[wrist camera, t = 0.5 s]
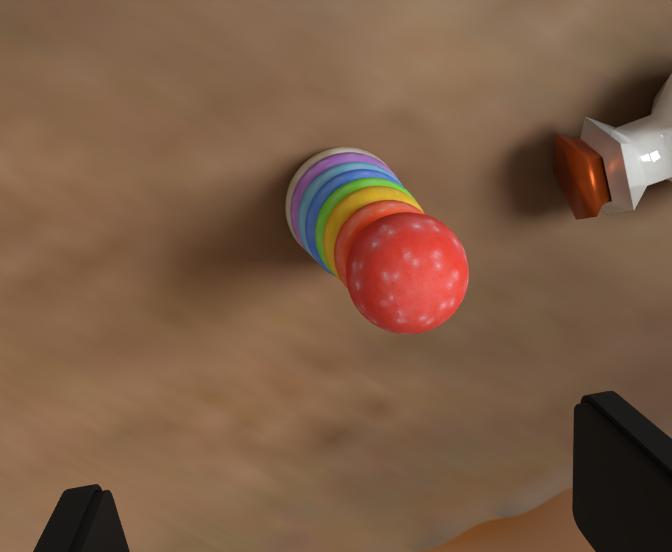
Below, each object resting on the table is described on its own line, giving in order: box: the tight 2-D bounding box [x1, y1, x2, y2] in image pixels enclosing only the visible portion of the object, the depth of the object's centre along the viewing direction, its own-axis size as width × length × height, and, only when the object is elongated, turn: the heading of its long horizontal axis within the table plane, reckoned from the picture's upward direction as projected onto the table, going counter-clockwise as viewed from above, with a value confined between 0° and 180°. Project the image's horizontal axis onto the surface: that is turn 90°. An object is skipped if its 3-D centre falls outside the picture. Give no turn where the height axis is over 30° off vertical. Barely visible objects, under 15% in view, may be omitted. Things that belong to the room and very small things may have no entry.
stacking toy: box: [285, 147, 469, 334], centre depth 30 cm, size 8×8×19 cm
